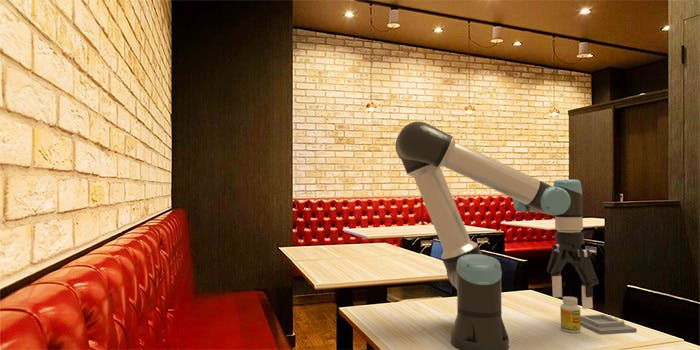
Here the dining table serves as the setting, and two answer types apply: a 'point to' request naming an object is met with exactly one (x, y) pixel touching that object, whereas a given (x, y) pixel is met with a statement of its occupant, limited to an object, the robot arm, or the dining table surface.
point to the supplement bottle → (570, 315)
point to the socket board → (605, 324)
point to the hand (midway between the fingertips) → (571, 302)
